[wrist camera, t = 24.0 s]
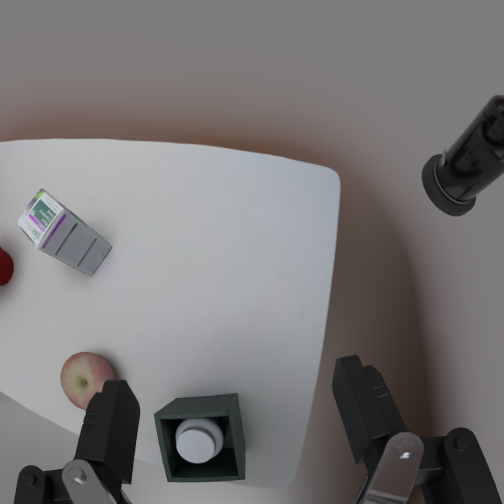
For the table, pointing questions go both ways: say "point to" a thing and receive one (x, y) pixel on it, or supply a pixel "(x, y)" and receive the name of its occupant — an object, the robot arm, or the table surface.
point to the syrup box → (62, 234)
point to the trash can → (217, 468)
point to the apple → (84, 377)
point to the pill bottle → (201, 438)
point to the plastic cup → (5, 267)
